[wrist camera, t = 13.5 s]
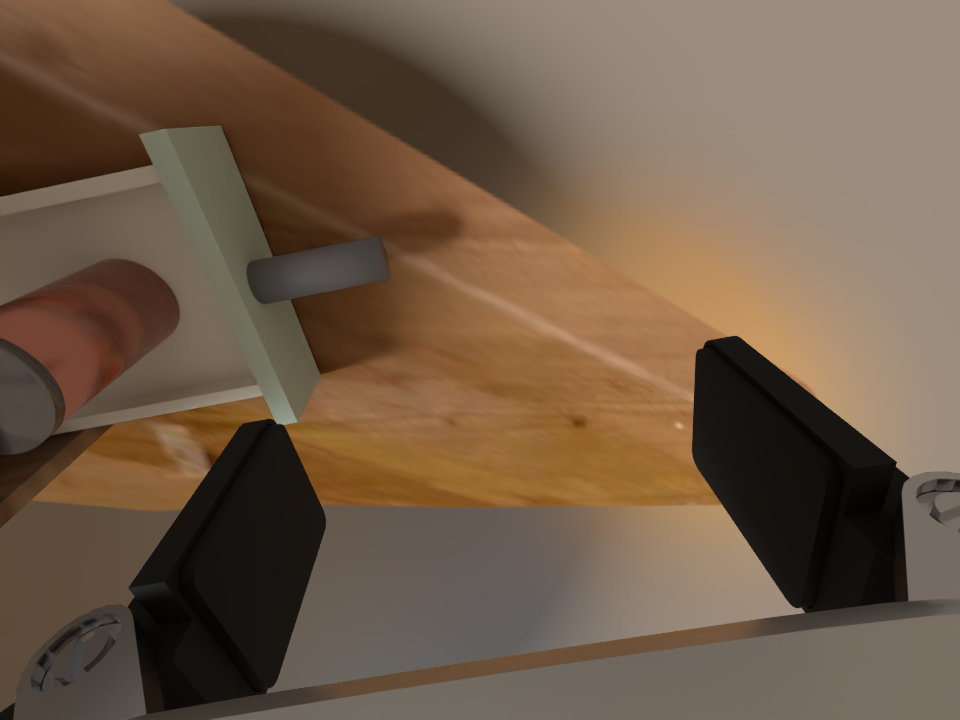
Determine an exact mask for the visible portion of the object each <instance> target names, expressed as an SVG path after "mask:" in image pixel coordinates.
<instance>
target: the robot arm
mask: <svg viewBox="0 0 960 720" xmlns="http://www.w3.org/2000/svg"><path fill="white" fill-rule="evenodd" d="M692 454H693V459H694V462H695V464H696V466H697V468H698V470H699V471H700V472H701V474H702V475H703V477H704V478H705V480H706V481H707V483H708V484H709V486H710V487H711V489H712V490H713V492H714V493H715V495H716V496H717V498H718V499H719V501H720V502H721V503H722V505H723V506H724V508H725V509H726V511H727V512H728V514H729V515H730V517H731V518H732V520H733V521H734V522H735V524H736V526H737V527H738V529H739V530H740V531H741V533H742V535H743V536H744V537H745V539H746V540H747V542H748V543H749V545H750V546H751V548H752V549H753V551H754V552H755V554H756V555H757V557H758V558H759V560H760V561H761V562H762V564H763V565H764V567H765V568H766V570H767V571H768V573H769V574H770V576H771V577H772V579H773V580H774V581H775V583H776V585H777V586H778V588H779V589H780V591H781V592H782V593H783V595H784V597H785V598H786V599H787V601H788V602H789V603H790V604H791V605H792V606H793V607H795V608H802V609H803V610H804V612H805V613H803V614H795V615H787V616H779V617H772V618H764V619H757V620H750V621H744V622H737V623H730V624H724V625H716V626H709V627H703V628H696V629H690V630H682V631H675V632H668V633H661V634H654V635H647V636H640V637H633V638H627V639H620V640H613V641H607V642H599V643H593V644H586V645H579V646H572V647H566V648H560V649H552V650H546V651H539V652H533V653H526V654H520V655H513V656H506V657H499V658H493V659H486V660H480V661H473V662H467V663H460V664H453V665H447V666H440V667H434V668H427V669H420V670H414V671H407V672H401V673H394V674H388V675H382V676H375V677H369V678H363V679H356V680H350V681H343V682H337V683H331V684H324V685H319V686H311V687H305V688H299V689H293V690H286V691H280V692H274V693H267V694H266V692H267V689H268V688H271V687H273V686H274V684H275V683H276V681H277V679H278V676H279V673H280V670H281V667H282V664H283V660H284V657H285V654H286V651H287V648H288V645H289V642H290V638H291V635H292V632H293V629H294V626H295V623H296V619H297V616H298V613H299V610H300V607H301V604H302V600H303V597H304V594H305V591H306V588H307V585H308V582H309V578H310V575H311V572H312V569H313V566H314V563H315V560H316V556H317V553H318V550H319V547H320V544H321V541H322V538H323V534H324V531H325V527H326V518H325V513H324V511H323V508H322V506H321V504H320V502H319V500H318V498H317V495H316V493H315V491H314V489H313V487H312V485H311V482H310V480H309V478H308V476H307V474H306V472H305V469H304V467H303V465H302V463H301V461H300V459H299V456H298V454H297V452H296V450H295V448H294V445H293V443H292V441H291V439H290V437H289V435H288V432H287V430H286V428H285V427H284V426H283V425H282V424H277V423H276V422H275V421H274V420H272V419H266V420H260V421H254V422H249V423H244V424H242V425H241V426H240V427H239V429H238V430H237V432H236V433H235V435H234V436H233V438H232V439H231V440H230V442H229V443H228V445H227V446H226V448H225V449H224V451H223V452H222V453H221V455H220V456H219V458H218V459H217V461H216V462H215V464H214V465H213V466H212V468H211V469H210V471H209V472H208V474H207V475H206V477H205V478H204V479H203V481H202V482H201V484H200V485H199V487H198V488H197V490H196V491H195V492H194V494H193V495H192V497H191V498H190V500H189V501H188V503H187V504H186V505H185V507H184V508H183V510H182V511H181V513H180V514H179V516H178V517H177V518H176V520H175V521H174V523H173V524H172V526H171V527H170V528H169V530H168V532H167V533H166V534H165V536H164V537H163V539H162V540H161V541H160V543H159V544H158V546H157V547H156V549H155V550H154V552H153V553H152V555H151V556H150V557H149V559H148V560H147V562H146V563H145V565H144V566H143V567H142V569H141V571H140V572H139V573H138V575H137V576H136V578H135V579H134V580H133V582H132V583H131V585H130V586H129V590H130V591H131V592H132V593H133V595H134V596H135V597H134V599H133V600H132V602H131V603H130V604H129V606H128V607H125V606H123V605H107V606H103V607H100V608H97V609H94V610H92V611H90V612H88V613H86V614H84V615H82V616H80V617H78V618H76V619H75V620H73V621H72V622H70V623H69V624H67V625H66V626H64V627H63V628H61V629H60V630H59V631H58V632H57V633H55V634H54V635H53V636H52V637H51V638H50V639H49V640H47V641H46V642H45V643H44V644H43V645H42V646H41V648H40V649H39V650H38V651H37V652H36V653H35V654H34V656H33V657H32V658H31V659H30V661H29V662H28V664H27V665H26V667H25V669H24V670H23V672H22V674H21V676H20V680H19V683H18V686H17V691H16V700H15V703H13V704H12V705H10V706H9V707H8V708H6V709H5V710H3V711H2V712H1V713H0V720H960V473H952V472H925V473H922V474H918V475H915V476H912V477H911V478H909V477H908V476H907V475H905V474H904V473H903V472H902V471H900V470H899V469H898V468H897V467H896V463H897V462H896V461H895V460H893V459H892V458H891V457H889V456H888V455H887V454H886V453H885V452H883V451H882V450H881V449H880V448H878V447H877V446H876V445H874V444H873V443H872V442H871V441H869V440H868V439H867V438H866V437H864V436H863V435H862V434H861V433H859V432H858V431H857V430H856V429H854V428H853V427H852V426H851V425H849V424H848V423H847V422H846V421H844V420H843V419H842V418H840V417H839V416H838V415H837V414H835V413H834V412H833V411H832V410H830V409H829V408H828V407H827V406H825V405H824V404H823V403H822V402H820V401H819V400H818V399H817V398H815V397H814V396H813V395H812V394H810V393H809V392H808V391H807V390H805V389H804V388H803V387H801V386H800V385H799V384H798V383H796V382H795V381H794V380H793V379H791V378H790V377H789V376H788V375H786V374H785V373H784V372H783V371H781V370H780V369H779V368H778V367H776V366H775V365H774V364H773V363H771V362H770V361H769V360H767V359H766V358H765V357H764V356H762V355H761V354H760V353H759V352H757V351H756V350H755V349H753V348H752V347H751V346H750V345H749V344H747V343H746V342H745V341H744V340H742V339H741V338H740V337H738V336H731V337H726V338H720V339H714V340H709V341H707V342H706V343H705V344H704V348H703V349H699V350H698V351H697V353H696V363H695V388H694V414H693V439H692Z"/></svg>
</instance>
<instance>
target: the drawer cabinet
mask: <svg viewBox="0 0 960 720" xmlns="http://www.w3.org/2000/svg"><path fill="white" fill-rule="evenodd" d="M112 425H113V424H109V425H103V426H98V427H92V428H87V429H82V430H76V431H71V432H66V433H60V434H55V435H51V436H49V437H48V438H47V439H46V440H45V441H43V442H42V443H41V444H40V445H38V446H37V447H35V448H34V449H32V450H29V451H27V452H24V453H19V454H12V455H0V528H1V527H2V526H3V525H4V524H5V523H6V522H7V521H9V520H10V519H11V518H12V517H13V516H14V515H15V514H16V513H17V512H18V511H20V510H21V509H22V508H23V507H24V506H25V505H26V504H27V503H28V502H29V501H30V500H32V499H33V498H34V497H35V496H36V495H37V494H38V493H39V492H40V491H41V490H42V489H44V488H45V487H46V486H47V485H48V484H49V483H50V482H51V481H52V480H53V479H54V478H56V477H57V476H58V475H59V474H60V473H61V472H62V471H63V470H64V469H65V468H66V467H67V466H69V465H70V464H71V463H72V462H73V461H74V460H75V459H76V458H77V457H78V456H79V455H81V454H82V453H83V452H84V451H85V450H86V449H87V448H88V447H89V446H90V445H91V444H93V443H94V442H95V441H96V440H97V439H98V438H99V437H100V436H101V435H102V434H103V433H105V432H106V431H107V430H108V429H109V428H110V427H111V426H112Z"/></svg>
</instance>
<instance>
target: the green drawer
mask: <svg viewBox="0 0 960 720" xmlns="http://www.w3.org/2000/svg"><path fill="white" fill-rule="evenodd" d="M139 136H140V138H141V140H142V143H143V145H144V147H145V149H146V151H147V153H148V155H149V157H150V159H151V161H152V163H153V165H150V166H145V167H140V168H136V169H131V170H126V171H121V172H117V173H112V174H107V175H102V176H98V177H93V178H88V179H83V180H79V181H74V182H69V183H64V184H60V185H55V186H50V187H45V188H41V189H36V190H31V191H27V192H22V193H17V194H12V195H8V196H3V197H0V305H3V304H5V303H7V302H9V301H12V300H14V299H16V298H18V297H21V296H23V295H25V294H27V293H30V292H32V291H34V290H36V289H39V288H41V287H43V286H45V285H48V284H50V283H52V282H54V281H57V280H59V279H61V278H64V277H66V276H68V275H70V274H73V273H75V272H77V271H79V270H82V269H84V268H86V267H88V266H91V265H93V264H95V263H97V262H100V261H103V260H106V259H124V260H129V261H133V262H136V263H138V264H141V265H143V266H145V267H147V268H148V269H150V270H152V271H153V272H155V273H156V274H157V275H158V276H160V277H161V278H162V279H163V280H164V281H165V282H166V283H167V284H168V286H169V287H170V289H171V290H172V292H173V293H174V295H175V297H176V299H177V302H178V305H179V311H180V317H179V323H178V325H177V328H176V329H175V331H174V332H173V333H172V334H171V335H170V336H169V337H168V338H167V339H165V340H164V341H163V342H162V343H160V344H159V345H158V346H157V347H155V348H154V349H153V350H152V351H150V352H149V353H148V354H147V355H146V356H144V357H143V358H142V359H141V360H139V361H138V362H137V363H136V364H134V365H133V366H132V367H131V368H129V369H128V370H127V371H126V372H125V373H123V374H122V375H121V376H120V377H118V378H117V379H116V380H115V381H113V382H112V383H111V384H110V385H108V386H107V387H106V388H105V389H103V390H102V391H101V392H100V393H99V394H97V395H96V396H95V397H94V398H92V399H91V400H90V401H89V402H87V403H86V404H85V405H84V406H82V407H81V408H80V409H79V410H78V411H76V412H75V413H74V414H73V415H71V416H70V417H69V418H68V419H66V420H65V421H64V422H63V423H62V424H61V426H60V427H59V428H58V430H57V431H56V432H54V433H53V434H52V435H55V434H60V433H66V432H71V431H76V430H82V429H87V428H92V427H98V426H103V425H109V424H114V423H119V422H125V421H130V420H135V419H141V418H146V417H151V416H157V415H162V414H167V413H173V412H178V411H184V410H189V409H194V408H200V407H205V406H210V405H216V404H221V403H226V402H232V401H237V400H242V399H248V398H253V397H259V396H264V398H265V400H266V402H267V405H268V407H269V409H270V411H271V413H272V415H273V417H274V419H275V421H276V423H277V424H282V425H286V424H291V423H296V422H298V420H299V418H300V417H301V415H302V413H303V411H304V409H305V407H306V405H307V403H308V401H309V399H310V397H311V395H312V393H313V391H314V389H315V387H316V385H317V383H318V381H319V379H320V377H321V375H320V373H319V370H318V368H317V365H316V363H315V360H314V358H313V355H312V353H311V350H310V348H309V345H308V343H307V340H306V338H305V335H304V333H303V330H302V328H301V325H300V323H299V320H298V318H297V315H296V313H295V310H294V308H293V305H292V303H291V300H290V299H294V298H299V297H304V296H310V295H315V294H320V293H325V292H330V291H335V290H340V289H345V288H351V287H356V286H361V285H366V284H371V283H376V282H381V281H386V280H389V277H390V272H389V264H388V259H387V255H386V251H385V248H384V245H383V243H382V240H381V239H380V237H379V236H374V237H369V238H364V239H359V240H354V241H349V242H344V243H339V244H334V245H329V246H324V247H319V248H314V249H309V250H304V251H299V252H294V253H289V254H284V255H279V256H274V257H273V255H272V253H271V250H270V248H269V245H268V243H267V240H266V238H265V235H264V233H263V230H262V228H261V225H260V223H259V220H258V218H257V215H256V213H255V210H254V208H253V205H252V203H251V200H250V198H249V195H248V193H247V190H246V188H245V185H244V183H243V180H242V178H241V175H240V173H239V170H238V167H237V165H236V162H235V160H234V157H233V155H232V152H231V150H230V147H229V145H228V142H227V140H226V137H225V135H224V132H223V130H222V127H221V125H219V126H202V127H186V128H169V129H162V130H157V131H152V132H148V133H143V134H139Z"/></svg>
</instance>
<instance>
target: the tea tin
mask: <svg viewBox="0 0 960 720" xmlns="http://www.w3.org/2000/svg"><path fill="white" fill-rule="evenodd" d="M179 317H180V311H179V305H178V302H177V299H176V297H175V295H174V293H173V292H172V290H171V289H170V287H169V286H168V284H167V283H166V282H165V281H164V280H163V279H162V278H161V277H160V276H158V275H157V274H156V273H155V272H153V271H152V270H150V269H148V268H147V267H145V266H143V265H141V264H138V263H136V262H133V261H129V260H124V259H106V260H103V261H100V262H97V263H95V264H93V265H91V266H88V267H86V268H84V269H82V270H79V271H77V272H75V273H73V274H70V275H68V276H66V277H64V278H61V279H59V280H57V281H54V282H52V283H50V284H48V285H45V286H43V287H41V288H39V289H36V290H34V291H32V292H30V293H27V294H25V295H23V296H21V297H18V298H16V299H14V300H12V301H9V302H7V303H5V304H3V305H0V455H12V454H19V453H24V452H27V451H29V450H32V449H34V448H35V447H37V446H38V445H40V444H41V443H42V442H43V441H45V440H46V439H47V438H48V437H49V436H51V435H52V434H53V433H54V432H56V431H57V430H58V428H59V427H60V426H61V424H62V423H63V422H64V421H65V420H66V419H68V418H69V417H70V416H71V415H73V414H74V413H75V412H76V411H78V410H79V409H80V408H81V407H82V406H84V405H85V404H86V403H87V402H89V401H90V400H91V399H92V398H94V397H95V396H96V395H97V394H99V393H100V392H101V391H102V390H103V389H105V388H106V387H107V386H108V385H110V384H111V383H112V382H113V381H115V380H116V379H117V378H118V377H120V376H121V375H122V374H123V373H125V372H126V371H127V370H128V369H129V368H131V367H132V366H133V365H134V364H136V363H137V362H138V361H139V360H141V359H142V358H143V357H144V356H146V355H147V354H148V353H149V352H150V351H152V350H153V349H154V348H155V347H157V346H158V345H159V344H160V343H162V342H163V341H164V340H165V339H167V338H168V337H169V336H170V335H171V334H172V333H173V332H174V331H175V329H176V328H177V325H178V323H179Z"/></svg>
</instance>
